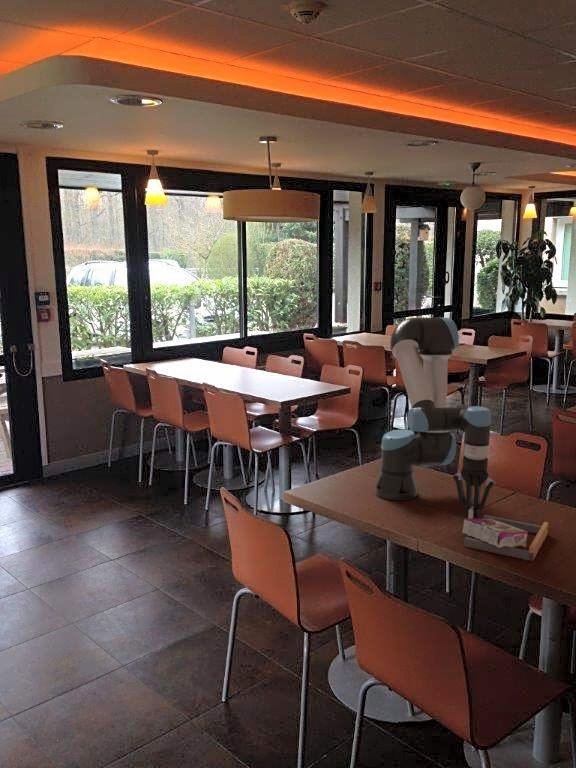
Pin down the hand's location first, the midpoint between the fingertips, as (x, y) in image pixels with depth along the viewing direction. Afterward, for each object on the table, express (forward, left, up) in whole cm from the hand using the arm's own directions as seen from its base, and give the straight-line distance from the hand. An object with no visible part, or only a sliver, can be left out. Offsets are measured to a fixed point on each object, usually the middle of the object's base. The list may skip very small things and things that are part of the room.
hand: (470, 527), depth 217 cm
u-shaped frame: (+11, 0, -2) cm, 11 cm away
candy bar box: (+2, -1, +2) cm, 2 cm away
